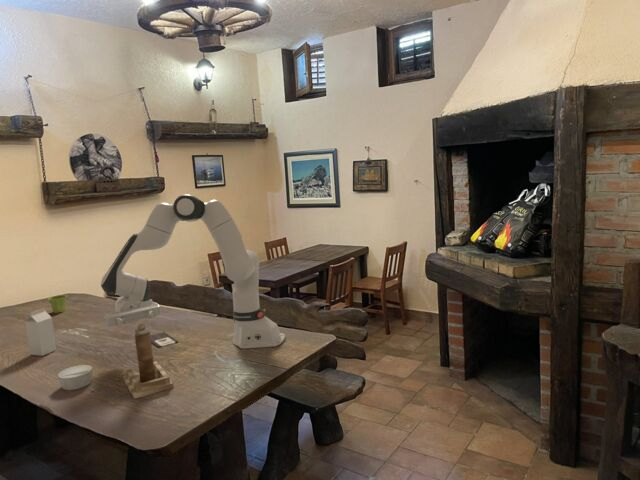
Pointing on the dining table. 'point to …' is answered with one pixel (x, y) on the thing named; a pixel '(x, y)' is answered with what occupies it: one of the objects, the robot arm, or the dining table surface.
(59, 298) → the plant pot
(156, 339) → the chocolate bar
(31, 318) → the milk carton
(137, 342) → the pepper mill
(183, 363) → the dining table surface
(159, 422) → the dining table surface
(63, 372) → the ramekin
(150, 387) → the rack
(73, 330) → the dining table surface
